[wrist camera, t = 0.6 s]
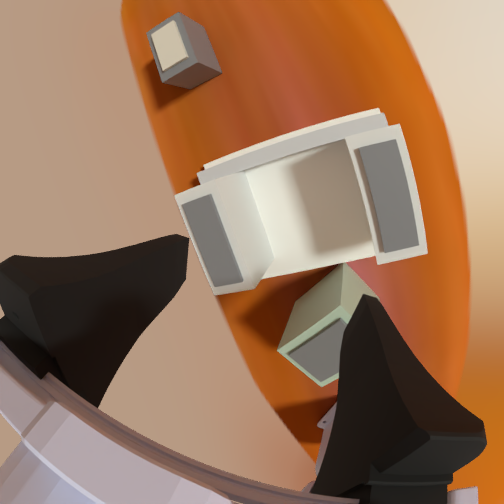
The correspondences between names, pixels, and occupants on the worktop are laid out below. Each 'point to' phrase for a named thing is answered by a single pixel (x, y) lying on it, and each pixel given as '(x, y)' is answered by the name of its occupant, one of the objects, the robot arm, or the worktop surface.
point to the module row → (305, 203)
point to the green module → (322, 324)
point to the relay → (183, 52)
